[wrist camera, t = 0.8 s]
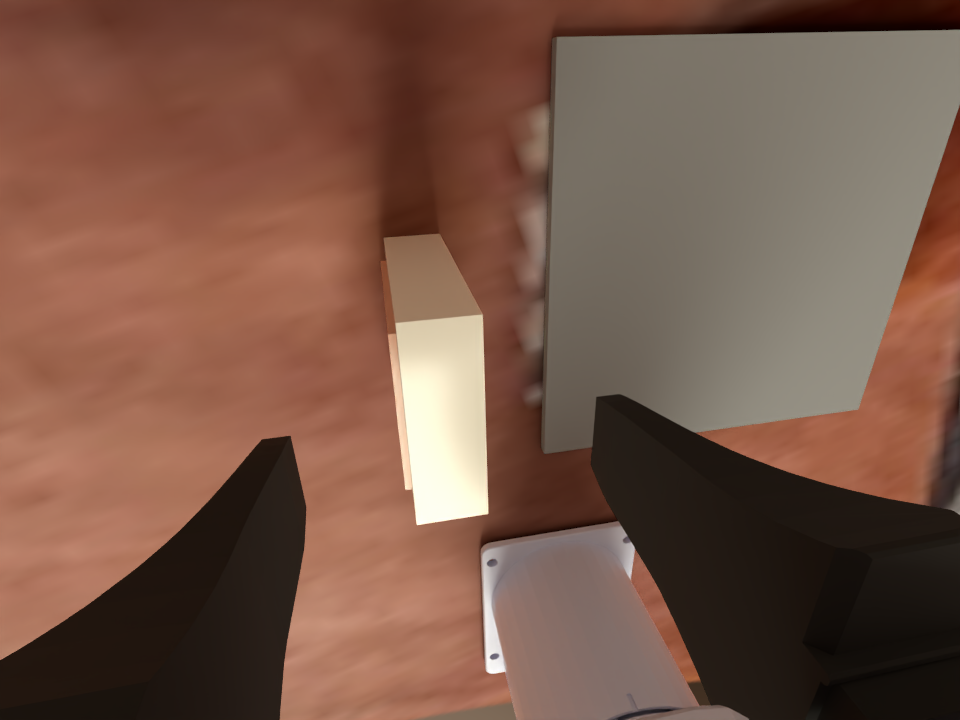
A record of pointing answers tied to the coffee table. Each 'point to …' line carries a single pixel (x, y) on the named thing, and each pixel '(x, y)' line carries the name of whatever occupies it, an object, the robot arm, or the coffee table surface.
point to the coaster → (436, 378)
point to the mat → (732, 218)
